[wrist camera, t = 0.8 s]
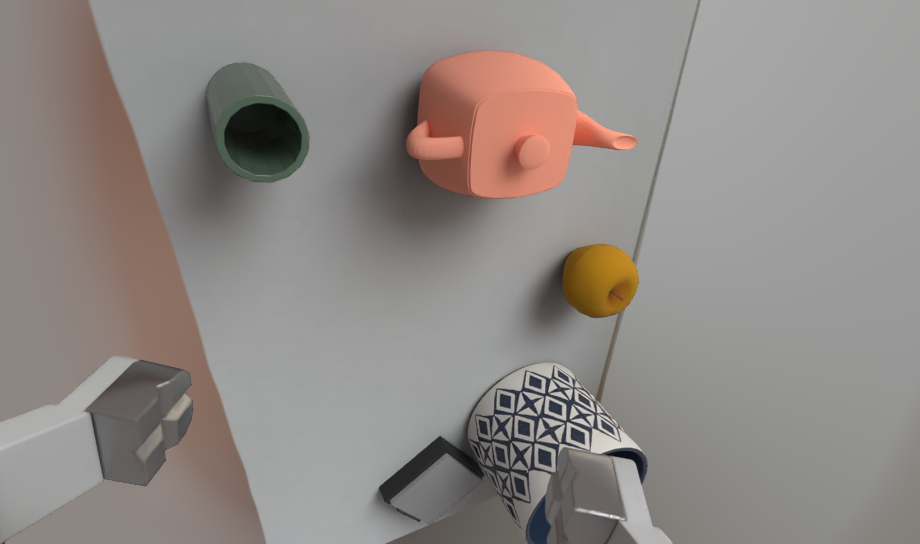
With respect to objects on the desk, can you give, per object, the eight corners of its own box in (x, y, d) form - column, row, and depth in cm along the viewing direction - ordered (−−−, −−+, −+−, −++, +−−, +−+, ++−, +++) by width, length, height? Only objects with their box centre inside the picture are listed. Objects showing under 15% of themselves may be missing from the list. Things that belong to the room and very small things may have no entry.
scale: (421, 509, 80) (429, 528, 77) (378, 487, 72) (386, 506, 70) (477, 462, 80) (487, 479, 77) (440, 435, 72) (449, 453, 70)
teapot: (373, 180, 49) (420, 239, 40) (371, 42, 43) (426, 75, 34) (553, 162, 57) (627, 207, 48) (573, 44, 51) (662, 70, 41)
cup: (245, 150, 43) (262, 198, 35) (188, 95, 39) (194, 136, 32) (298, 105, 43) (326, 144, 35) (246, 46, 39) (265, 75, 32)
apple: (533, 289, 65) (575, 331, 59) (562, 224, 62) (610, 261, 55) (586, 293, 70) (631, 332, 63) (615, 233, 67) (666, 268, 60)
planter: (584, 347, 76) (665, 430, 64) (560, 434, 86) (627, 521, 73) (472, 376, 69) (539, 476, 56) (459, 468, 78) (514, 571, 66)
